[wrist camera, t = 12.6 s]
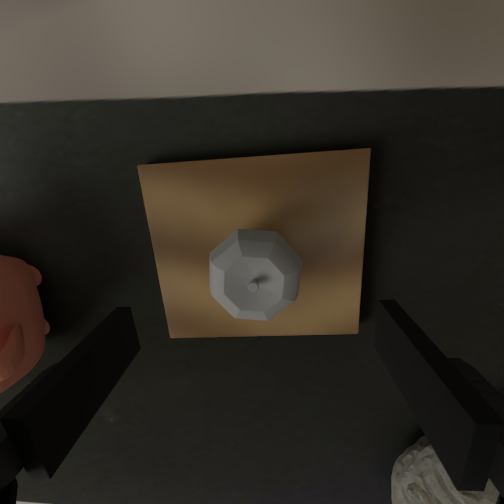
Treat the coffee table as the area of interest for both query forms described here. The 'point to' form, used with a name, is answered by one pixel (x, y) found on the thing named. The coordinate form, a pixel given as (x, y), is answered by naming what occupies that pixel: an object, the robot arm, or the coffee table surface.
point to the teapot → (19, 320)
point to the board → (266, 219)
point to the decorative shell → (430, 480)
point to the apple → (255, 274)
